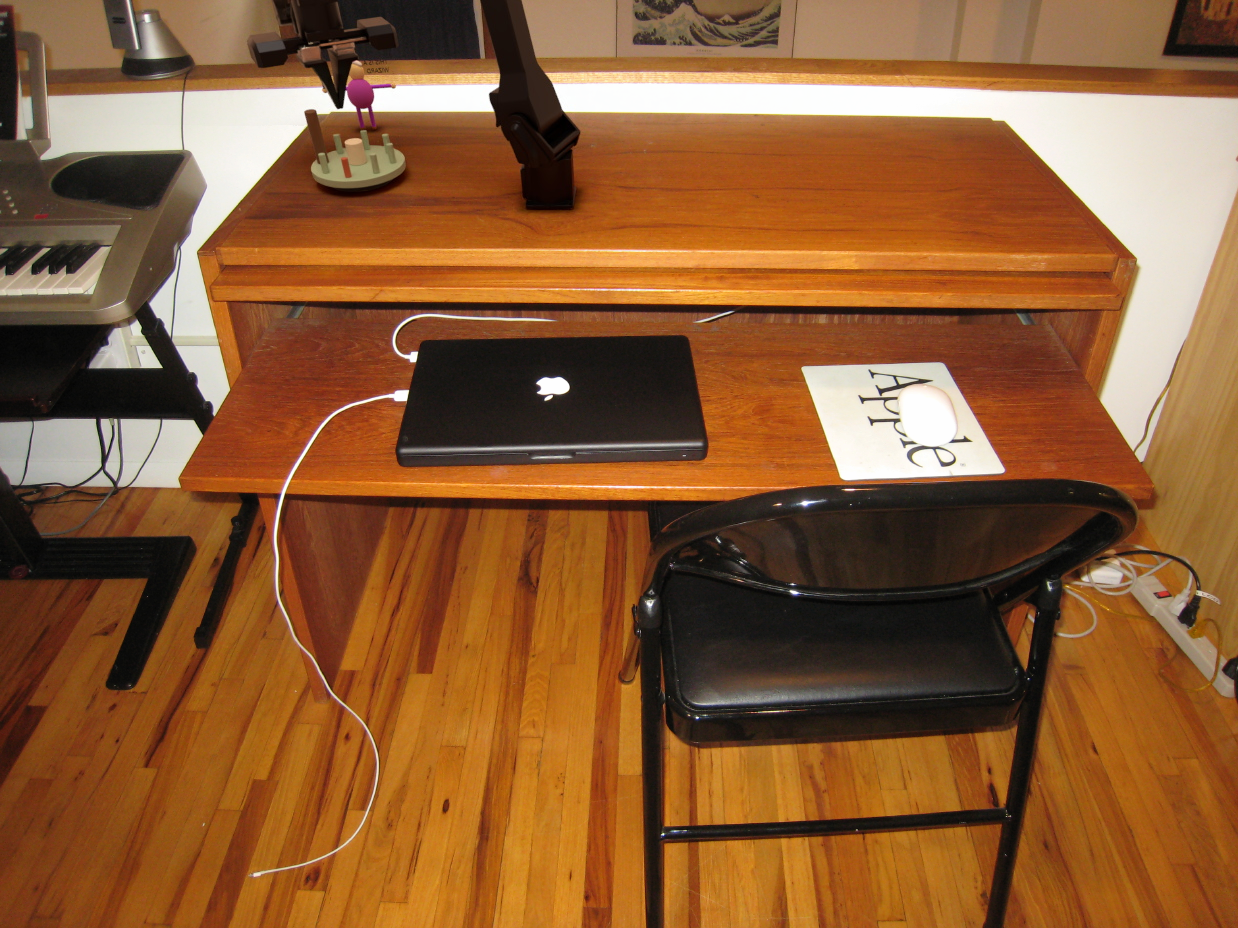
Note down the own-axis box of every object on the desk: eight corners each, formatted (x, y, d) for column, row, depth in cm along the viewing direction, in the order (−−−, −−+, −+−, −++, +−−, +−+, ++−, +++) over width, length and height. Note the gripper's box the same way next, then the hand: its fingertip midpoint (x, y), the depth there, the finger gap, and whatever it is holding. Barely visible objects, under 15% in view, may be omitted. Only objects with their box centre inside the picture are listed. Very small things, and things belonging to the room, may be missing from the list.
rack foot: (400, 166, 121) (398, 159, 120) (385, 192, 114) (383, 184, 113) (339, 166, 121) (338, 159, 120) (321, 192, 114) (319, 184, 113)
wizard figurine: (403, 125, 133) (389, 45, 125) (403, 132, 131) (388, 51, 123) (333, 130, 132) (313, 50, 124) (331, 137, 130) (311, 56, 122)
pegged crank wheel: (414, 152, 121) (404, 95, 116) (394, 188, 111) (382, 128, 106) (328, 152, 121) (313, 95, 116) (300, 188, 112) (283, 128, 106)
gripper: (364, -37, 113) (387, 81, 123) (223, -21, 107) (260, 103, 117) (387, -22, 106) (410, 103, 116) (238, -4, 99) (276, 127, 110)
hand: (339, 108), depth 115 cm, fingers closed
